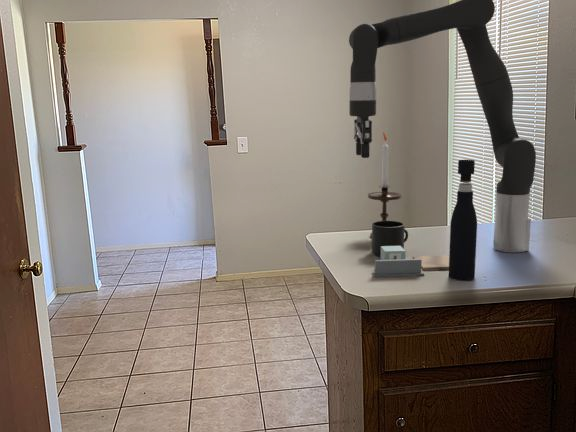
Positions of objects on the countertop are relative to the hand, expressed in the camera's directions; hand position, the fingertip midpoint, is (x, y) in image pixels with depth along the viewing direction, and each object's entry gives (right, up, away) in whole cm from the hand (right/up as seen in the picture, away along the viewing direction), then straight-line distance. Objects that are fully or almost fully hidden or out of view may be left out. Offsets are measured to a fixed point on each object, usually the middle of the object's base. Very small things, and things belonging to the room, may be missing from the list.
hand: (362, 156), depth 162 cm
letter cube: (+7, -31, -8) cm, 33 cm away
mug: (+9, -28, +6) cm, 31 cm away
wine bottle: (+23, -33, -18) cm, 44 cm away
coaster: (+20, -31, -6) cm, 37 cm away
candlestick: (+11, -24, +26) cm, 37 cm away
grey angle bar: (+7, -33, -15) cm, 36 cm away
